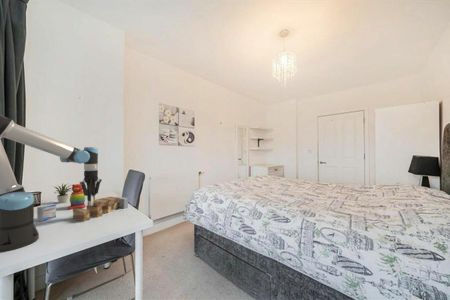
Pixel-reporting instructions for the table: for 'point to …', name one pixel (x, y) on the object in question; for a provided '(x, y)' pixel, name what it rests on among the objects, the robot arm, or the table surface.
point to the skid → (109, 208)
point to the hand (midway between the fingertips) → (91, 205)
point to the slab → (104, 201)
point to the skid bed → (86, 213)
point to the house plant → (62, 193)
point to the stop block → (122, 202)
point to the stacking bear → (77, 197)
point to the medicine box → (46, 212)
